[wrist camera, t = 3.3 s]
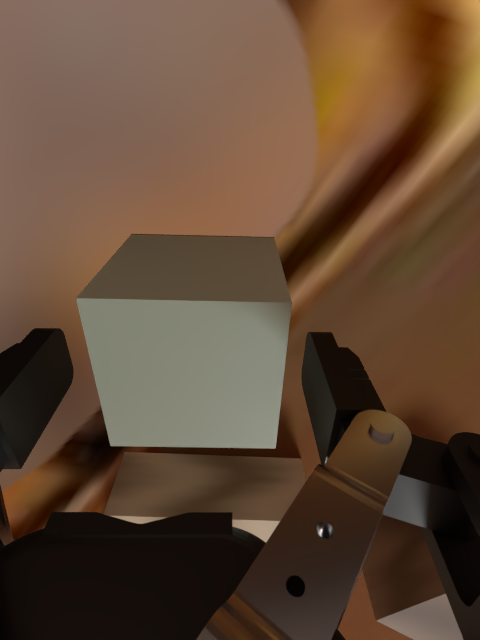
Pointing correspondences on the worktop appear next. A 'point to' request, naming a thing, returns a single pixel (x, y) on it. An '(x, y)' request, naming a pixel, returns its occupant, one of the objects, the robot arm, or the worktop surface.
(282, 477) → the pine block
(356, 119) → the worktop surface
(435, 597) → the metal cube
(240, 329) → the green cube
